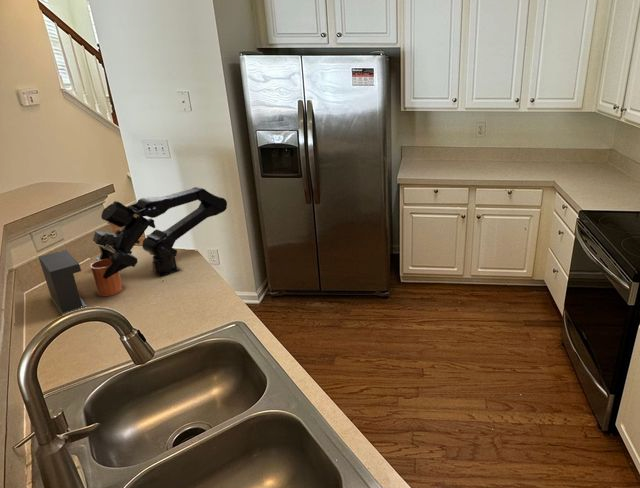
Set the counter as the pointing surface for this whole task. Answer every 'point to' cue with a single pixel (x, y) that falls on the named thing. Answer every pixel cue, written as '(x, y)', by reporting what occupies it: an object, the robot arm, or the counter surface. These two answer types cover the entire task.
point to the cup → (102, 284)
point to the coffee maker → (62, 280)
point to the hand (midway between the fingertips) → (100, 274)
